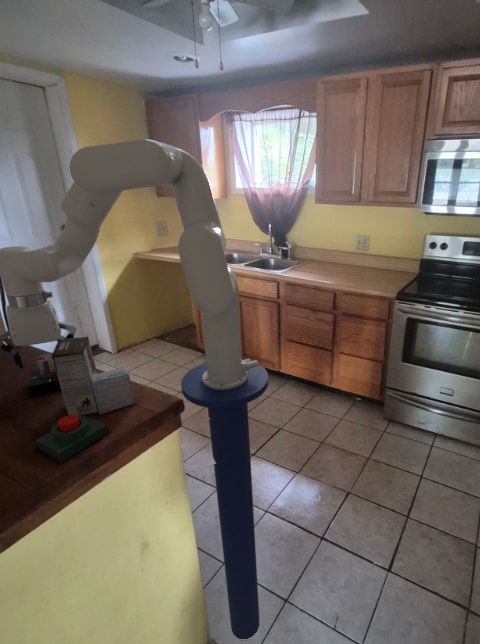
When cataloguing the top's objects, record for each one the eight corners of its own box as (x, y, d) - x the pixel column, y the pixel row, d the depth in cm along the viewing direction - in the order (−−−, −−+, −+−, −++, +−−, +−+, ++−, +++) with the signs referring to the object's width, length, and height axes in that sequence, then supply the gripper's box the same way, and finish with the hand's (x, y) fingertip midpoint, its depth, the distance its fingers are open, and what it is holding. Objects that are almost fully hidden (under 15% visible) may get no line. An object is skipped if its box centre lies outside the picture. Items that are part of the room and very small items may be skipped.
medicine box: (131, 396, 94) (125, 366, 91) (135, 404, 91) (129, 373, 87) (96, 406, 90) (88, 375, 86) (100, 415, 86) (92, 383, 83)
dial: (59, 369, 100) (54, 351, 98) (59, 375, 97) (54, 357, 95) (40, 372, 98) (35, 355, 96) (39, 380, 95) (34, 361, 93)
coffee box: (74, 397, 93) (58, 339, 87) (102, 393, 95) (89, 335, 89) (67, 418, 85) (49, 355, 79) (99, 412, 87) (83, 350, 81)
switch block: (84, 422, 84) (80, 407, 82) (107, 433, 80) (104, 418, 79) (38, 448, 76) (33, 432, 74) (62, 462, 72) (57, 445, 71)
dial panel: (71, 373, 105) (69, 363, 103) (73, 387, 98) (70, 377, 96) (33, 381, 100) (30, 371, 99) (32, 397, 93) (28, 386, 92)
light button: (73, 419, 79) (71, 412, 78) (83, 424, 77) (81, 417, 77) (56, 428, 76) (53, 421, 75) (66, 434, 74) (64, 427, 74)
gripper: (68, 290, 97) (82, 350, 103) (-16, 300, 88) (5, 363, 95) (69, 298, 91) (83, 360, 97) (-21, 309, 82) (1, 376, 89)
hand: (44, 362), depth 96 cm, fingers open, 9 cm apart
